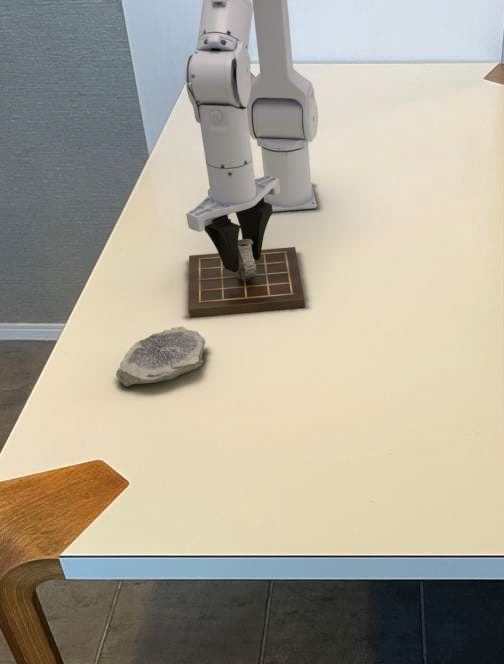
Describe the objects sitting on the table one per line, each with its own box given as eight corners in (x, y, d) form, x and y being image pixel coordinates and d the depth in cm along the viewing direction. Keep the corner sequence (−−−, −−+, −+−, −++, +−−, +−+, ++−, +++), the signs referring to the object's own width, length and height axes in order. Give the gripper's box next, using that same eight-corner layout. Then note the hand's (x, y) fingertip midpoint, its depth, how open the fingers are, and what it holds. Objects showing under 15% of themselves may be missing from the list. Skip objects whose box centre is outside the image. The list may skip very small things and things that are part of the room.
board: (190, 263, 121) (188, 254, 120) (295, 254, 123) (295, 245, 122) (189, 317, 111) (188, 308, 110) (305, 307, 112) (304, 298, 111)
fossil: (157, 315, 106) (219, 319, 101) (171, 343, 108) (232, 348, 103) (98, 369, 99) (161, 376, 94) (114, 397, 102) (176, 406, 97)
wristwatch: (251, 264, 117) (248, 228, 114) (264, 284, 113) (261, 248, 110) (226, 268, 116) (222, 232, 113) (238, 288, 112) (234, 252, 109)
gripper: (247, 134, 111) (259, 235, 120) (162, 170, 103) (181, 275, 112) (287, 147, 108) (296, 249, 117) (202, 185, 100) (219, 291, 109)
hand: (242, 263), depth 115 cm, fingers closed on wristwatch, 3 cm apart
